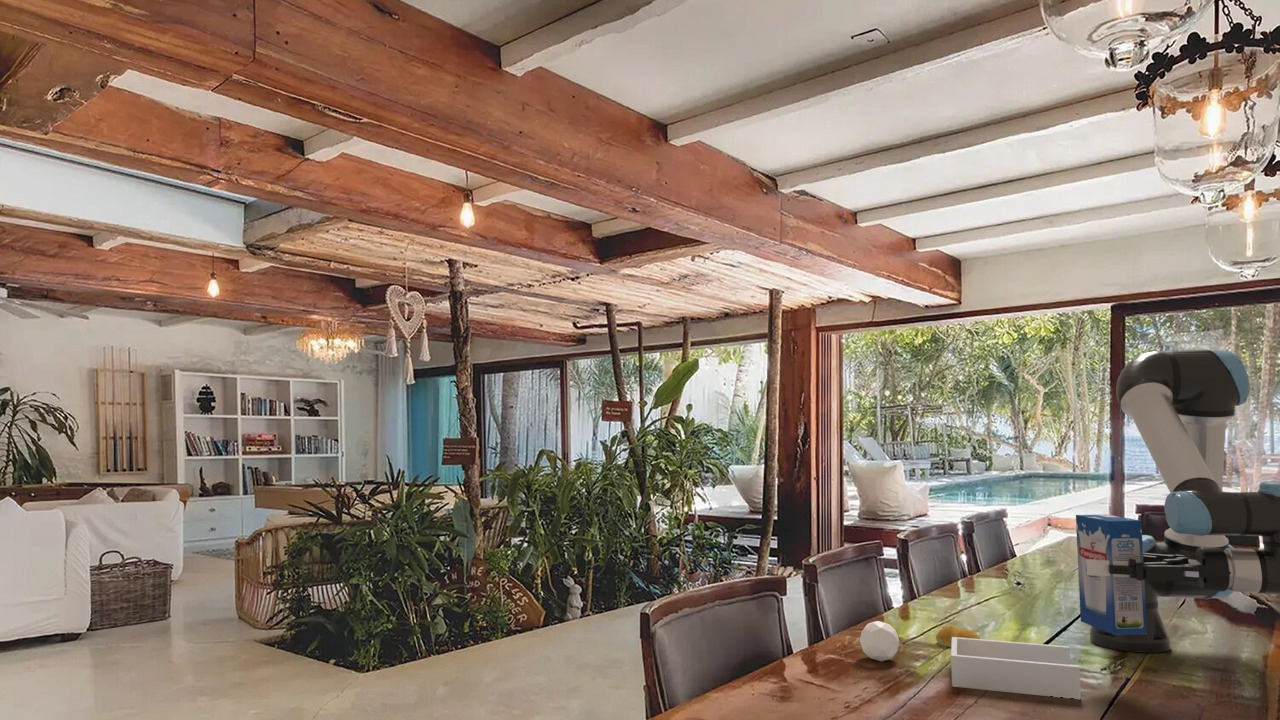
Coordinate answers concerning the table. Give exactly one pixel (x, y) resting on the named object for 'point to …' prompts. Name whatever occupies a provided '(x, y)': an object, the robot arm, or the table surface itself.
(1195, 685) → the table surface
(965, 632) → the bread roll
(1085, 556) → the milk carton
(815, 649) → the table surface
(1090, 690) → the table surface
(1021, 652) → the plastic channel
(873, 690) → the table surface
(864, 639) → the geometric ball
